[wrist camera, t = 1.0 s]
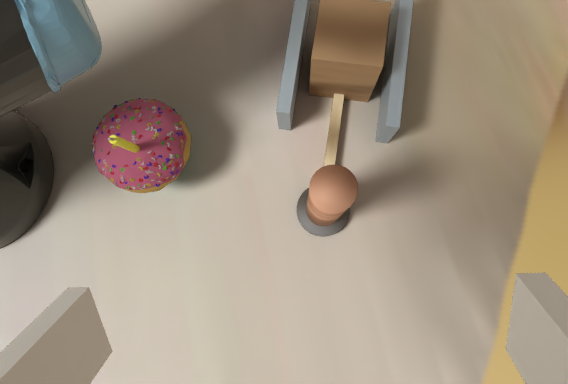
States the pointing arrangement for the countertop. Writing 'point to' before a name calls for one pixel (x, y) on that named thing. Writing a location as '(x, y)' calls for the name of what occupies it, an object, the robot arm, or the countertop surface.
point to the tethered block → (341, 99)
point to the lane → (391, 76)
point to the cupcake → (141, 145)
